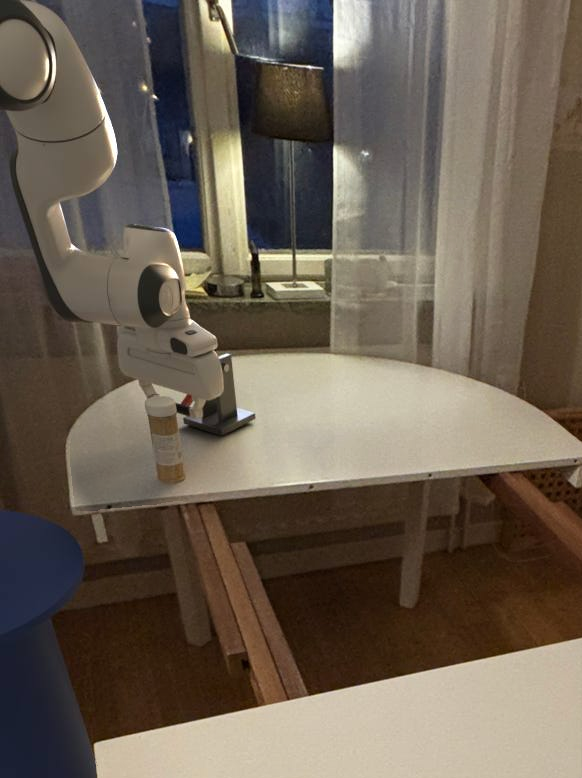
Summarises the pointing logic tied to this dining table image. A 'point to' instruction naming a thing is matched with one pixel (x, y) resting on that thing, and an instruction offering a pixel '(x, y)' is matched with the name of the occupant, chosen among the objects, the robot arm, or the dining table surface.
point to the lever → (185, 405)
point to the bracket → (222, 406)
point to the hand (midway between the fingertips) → (175, 411)
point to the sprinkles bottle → (165, 439)
